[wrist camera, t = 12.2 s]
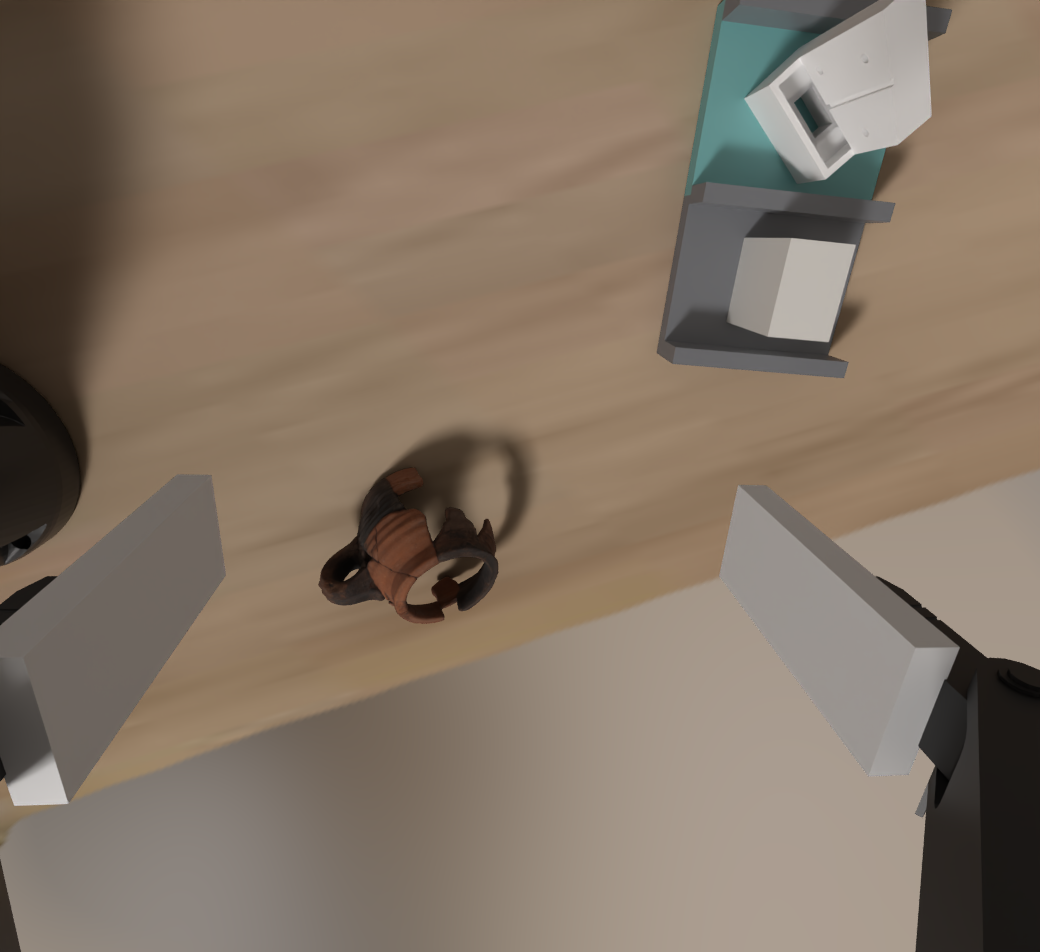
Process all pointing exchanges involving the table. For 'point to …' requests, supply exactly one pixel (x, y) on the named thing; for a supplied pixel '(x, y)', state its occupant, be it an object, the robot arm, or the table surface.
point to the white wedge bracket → (849, 89)
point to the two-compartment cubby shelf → (759, 191)
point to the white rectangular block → (789, 287)
